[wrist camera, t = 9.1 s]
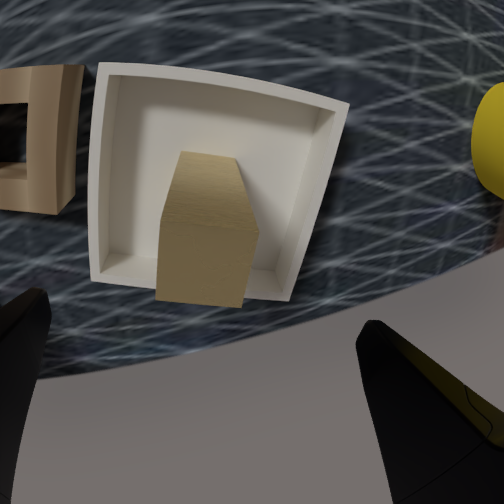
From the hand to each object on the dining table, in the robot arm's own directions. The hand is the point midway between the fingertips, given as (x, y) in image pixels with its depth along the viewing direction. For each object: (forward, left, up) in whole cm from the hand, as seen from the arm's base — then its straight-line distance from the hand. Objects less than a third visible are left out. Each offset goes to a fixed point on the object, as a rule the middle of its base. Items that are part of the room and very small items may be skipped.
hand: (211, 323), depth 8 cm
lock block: (-12, +2, -12) cm, 17 cm away
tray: (0, 0, -12) cm, 12 cm away
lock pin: (0, 0, -12) cm, 12 cm away
